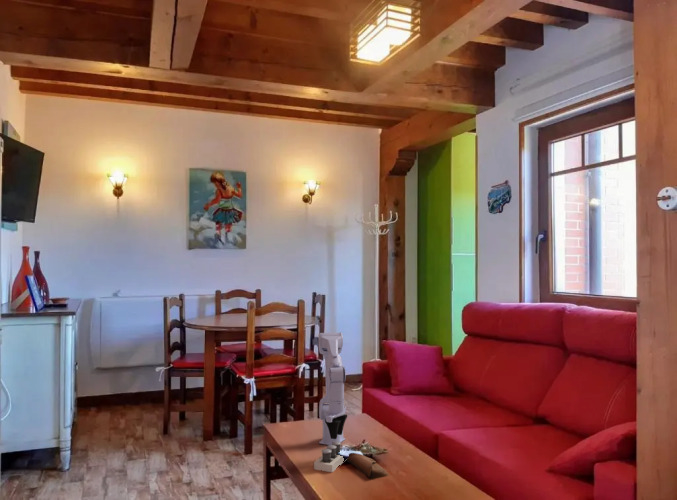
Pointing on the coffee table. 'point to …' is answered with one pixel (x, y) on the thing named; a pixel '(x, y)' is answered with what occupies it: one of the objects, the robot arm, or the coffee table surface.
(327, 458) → the knob
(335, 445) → the knob
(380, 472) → the sunglasses case
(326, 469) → the knob board
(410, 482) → the coffee table surface
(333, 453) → the knob middle
